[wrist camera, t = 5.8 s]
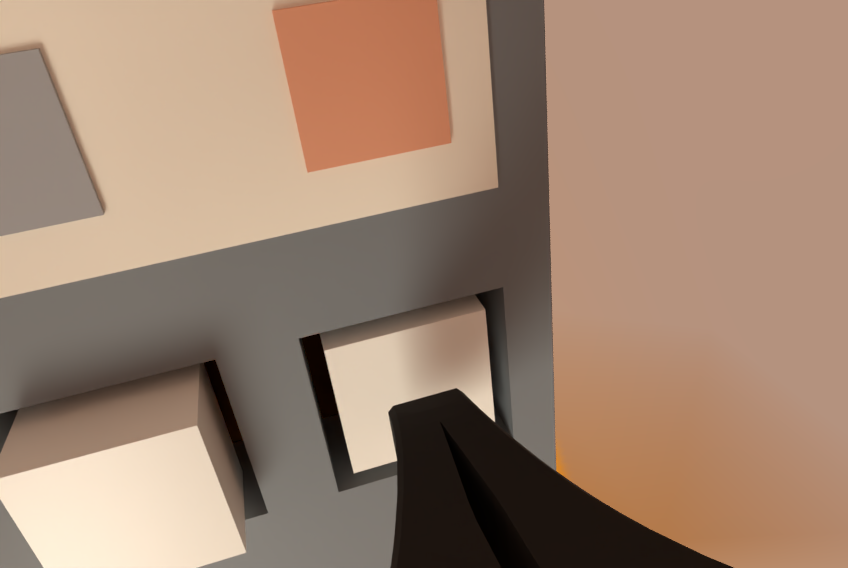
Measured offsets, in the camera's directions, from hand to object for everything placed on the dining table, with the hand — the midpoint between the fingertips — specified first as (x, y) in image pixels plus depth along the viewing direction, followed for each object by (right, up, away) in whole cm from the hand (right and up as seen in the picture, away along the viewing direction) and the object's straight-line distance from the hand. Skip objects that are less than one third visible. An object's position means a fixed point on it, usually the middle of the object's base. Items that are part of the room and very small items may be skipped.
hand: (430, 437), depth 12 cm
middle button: (-6, 0, +1) cm, 6 cm away
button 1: (-1, +2, +3) cm, 4 cm away
